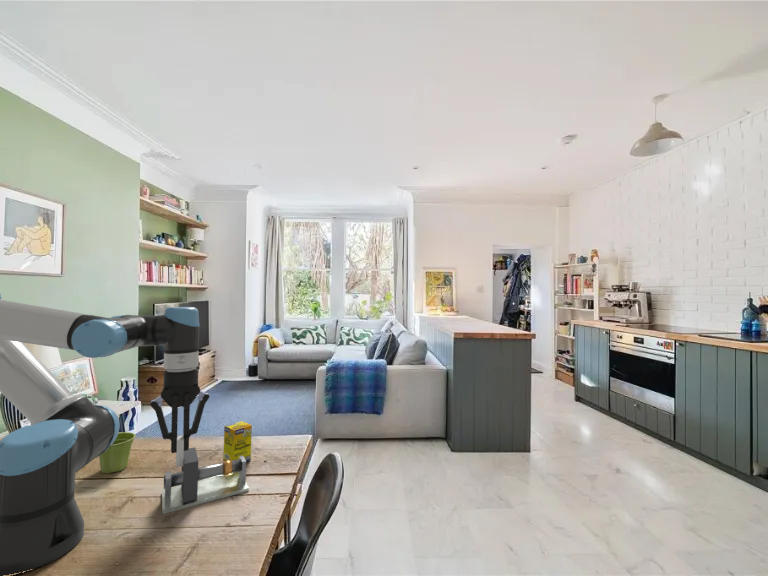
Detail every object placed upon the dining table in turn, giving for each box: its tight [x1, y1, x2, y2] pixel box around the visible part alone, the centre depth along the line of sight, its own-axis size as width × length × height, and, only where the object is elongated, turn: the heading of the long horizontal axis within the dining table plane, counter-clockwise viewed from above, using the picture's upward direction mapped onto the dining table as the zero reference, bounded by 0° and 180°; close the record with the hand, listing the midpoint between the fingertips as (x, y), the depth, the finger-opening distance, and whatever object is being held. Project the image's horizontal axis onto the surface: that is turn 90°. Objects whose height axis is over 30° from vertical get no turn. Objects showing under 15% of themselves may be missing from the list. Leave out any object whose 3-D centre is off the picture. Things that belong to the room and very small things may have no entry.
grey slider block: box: [180, 447, 199, 503], centre depth 88 cm, size 3×9×9 cm, turn 33°
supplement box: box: [222, 420, 253, 463], centre depth 107 cm, size 6×6×11 cm
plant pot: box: [98, 431, 136, 474], centre depth 102 cm, size 9×9×9 cm
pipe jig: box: [161, 456, 250, 515], centre depth 90 cm, size 19×10×7 cm, turn 123°
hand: (179, 464), depth 87 cm, fingers closed
